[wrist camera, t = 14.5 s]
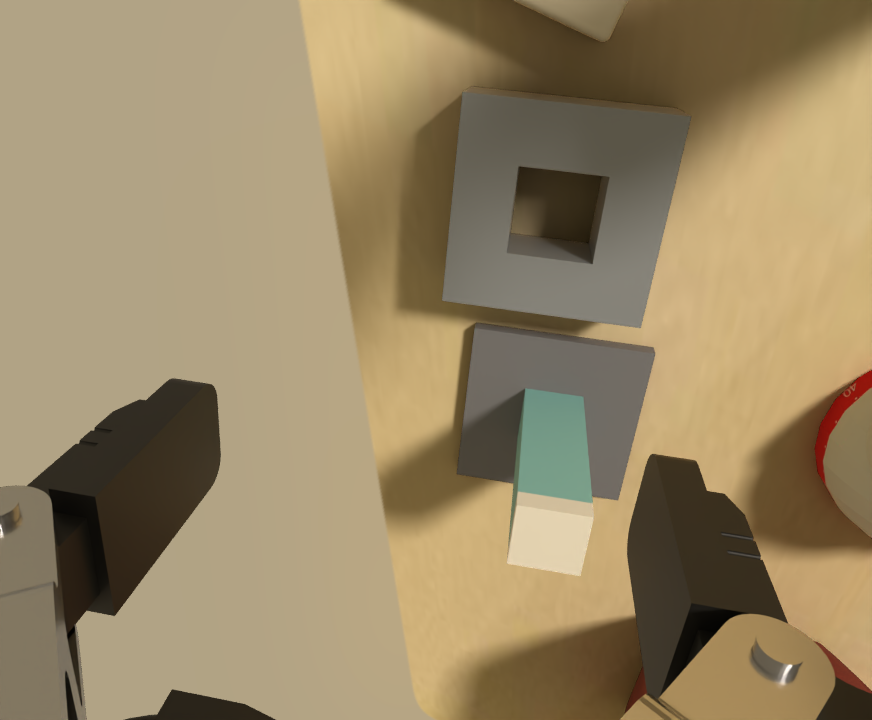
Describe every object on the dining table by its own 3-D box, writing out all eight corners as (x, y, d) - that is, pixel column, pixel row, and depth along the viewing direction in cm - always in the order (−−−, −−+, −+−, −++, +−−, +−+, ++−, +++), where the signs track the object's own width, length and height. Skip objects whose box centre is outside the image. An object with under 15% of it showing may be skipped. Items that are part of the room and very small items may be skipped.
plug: (583, 396, 47) (593, 517, 35) (573, 445, 49) (580, 576, 37) (525, 388, 48) (516, 505, 36) (517, 436, 49) (506, 563, 38)
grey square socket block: (677, 108, 40) (691, 116, 35) (632, 301, 45) (640, 328, 41) (471, 86, 41) (462, 91, 37) (451, 277, 46) (442, 300, 42)
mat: (653, 347, 46) (655, 353, 45) (616, 492, 51) (618, 500, 50) (476, 322, 47) (474, 328, 46) (458, 466, 52) (456, 474, 51)
